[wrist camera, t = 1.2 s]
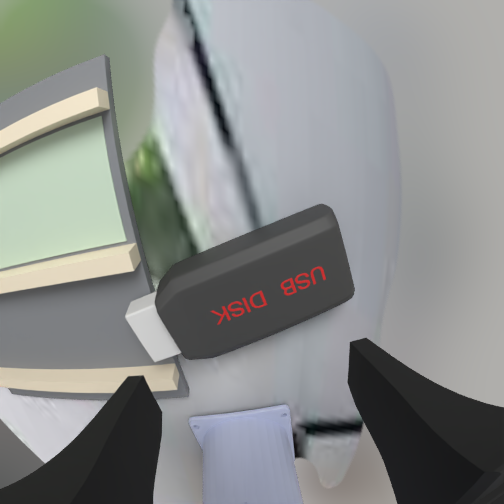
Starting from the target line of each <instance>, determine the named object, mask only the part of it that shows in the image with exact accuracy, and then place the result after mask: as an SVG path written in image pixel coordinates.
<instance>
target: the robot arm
mask: <svg viewBox="0 0 504 504" xmlns="http://www.w3.org/2000/svg"><path fill="white" fill-rule="evenodd" d="M348 385H349V388H350V391H351V394H352V397H353V399H354V402H355V405H356V407H357V409H358V411H359V413H360V415H361V417H362V419H363V421H364V423H365V425H366V427H367V429H368V430H369V432H370V434H371V436H372V438H373V440H374V442H375V444H376V446H377V448H378V450H379V452H380V454H381V456H382V459H383V461H384V463H385V467H386V469H387V472H388V475H389V478H390V481H391V484H392V487H393V490H394V494H395V497H396V500H397V504H504V408H503V407H498V406H494V405H490V404H486V403H483V402H480V401H477V400H474V399H471V398H468V397H465V396H463V395H460V394H457V393H455V392H453V391H451V390H449V389H447V388H444V387H442V386H440V385H438V384H436V383H434V382H433V381H431V380H429V379H427V378H425V377H424V376H422V375H420V374H419V373H417V372H415V371H414V370H412V369H410V368H409V367H407V366H406V365H404V364H403V363H401V362H400V361H398V360H397V359H395V358H394V357H392V356H391V355H390V354H388V353H387V352H385V351H384V350H383V349H381V348H380V347H378V346H377V345H376V344H374V343H373V342H371V341H370V340H369V339H367V338H364V339H360V340H356V341H352V342H350V353H349V371H348ZM189 425H190V427H191V429H192V431H193V433H194V435H195V437H196V439H197V441H198V443H199V445H200V447H201V449H202V451H203V504H303V500H302V496H301V491H300V487H299V482H298V478H297V474H296V469H295V465H294V461H295V456H294V446H293V436H292V426H291V417H290V409H289V406H288V405H285V404H284V405H278V406H272V407H266V408H260V409H254V410H247V411H240V412H233V413H225V414H216V415H206V416H194V417H190V418H189ZM161 436H162V411H161V409H160V407H159V406H158V404H157V402H156V400H155V398H154V396H153V394H152V392H151V390H150V388H149V386H148V384H147V382H146V380H145V377H144V375H139V376H128V377H127V378H126V379H125V380H124V382H123V383H122V384H121V385H120V386H119V388H118V389H117V390H116V391H115V393H114V394H113V395H112V396H111V398H110V399H109V400H108V401H107V403H106V404H105V405H104V406H103V408H102V409H101V410H100V411H99V412H98V414H97V415H96V416H95V417H94V418H93V419H92V421H91V422H90V423H89V424H88V425H87V426H86V427H85V428H84V429H83V430H82V432H81V433H80V434H79V435H78V436H77V437H76V438H75V439H74V440H73V441H72V442H71V443H70V444H69V445H68V446H67V447H65V448H64V449H63V450H62V451H61V452H60V453H59V454H57V455H56V456H55V457H54V458H52V459H51V460H50V461H48V462H47V463H46V464H45V465H43V466H42V467H40V468H39V469H37V470H36V471H34V472H33V473H31V474H30V475H28V476H26V477H24V478H23V479H21V480H19V481H17V482H15V483H13V484H11V485H9V486H7V487H4V488H2V489H0V504H153V491H154V482H155V475H156V468H157V462H158V456H159V449H160V443H161Z"/></svg>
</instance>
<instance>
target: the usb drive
mask: <svg viewBox="0 0 504 504" xmlns="http://www.w3.org/2000/svg"><path fill="white" fill-rule="evenodd" d="M354 291H355V288H354V284H353V280H352V275H351V271H350V267H349V263H348V259H347V255H346V251H345V247H344V243H343V240H342V236H341V232H340V228H339V225H338V222H337V219H336V217H335V215H334V212H333V210H332V209H331V208H330V207H328V206H327V205H324V204H319V205H316V206H314V207H311V208H309V209H306V210H304V211H301V212H299V213H296V214H294V215H291V216H289V217H286V218H284V219H281V220H279V221H276V222H274V223H271V224H269V225H266V226H264V227H262V228H259V229H257V230H254V231H252V232H249V233H247V234H245V235H242V236H240V237H237V238H235V239H232V240H230V241H228V242H225V243H223V244H220V245H218V246H216V247H213V248H211V249H208V250H206V251H204V252H201V253H199V254H196V255H194V256H192V257H189V258H187V259H185V260H182V261H180V262H178V263H176V264H174V265H173V266H172V267H171V268H170V269H169V270H168V272H167V273H166V274H165V275H164V277H163V278H162V279H161V281H160V282H159V286H158V289H157V291H156V292H153V293H151V294H148V295H146V296H144V297H141V298H139V299H136V300H134V301H132V302H131V303H130V305H129V307H128V310H127V312H126V315H125V318H126V320H127V321H128V323H129V325H130V326H131V328H132V329H133V331H134V332H135V334H136V335H137V337H138V339H139V340H140V342H141V343H142V345H143V346H144V348H145V349H146V350H147V352H148V353H149V355H150V356H151V358H152V359H153V361H154V362H158V361H161V360H163V359H166V358H169V357H172V356H175V355H178V354H181V353H182V354H183V356H184V357H185V358H186V359H190V360H192V359H204V358H213V357H217V356H219V355H222V354H225V353H228V352H230V351H233V350H235V349H238V348H241V347H243V346H246V345H248V344H251V343H253V342H256V341H258V340H261V339H263V338H266V337H268V336H271V335H273V334H275V333H278V332H280V331H283V330H285V329H287V328H290V327H292V326H294V325H297V324H299V323H301V322H303V321H306V320H308V319H310V318H312V317H315V316H317V315H319V314H321V313H323V312H326V311H328V310H330V309H332V308H334V307H336V306H338V305H340V304H342V303H344V302H346V301H348V300H349V299H351V298H352V297H353V295H354Z"/></svg>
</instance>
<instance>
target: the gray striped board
mask: <svg viewBox="0 0 504 504" xmlns="http://www.w3.org/2000/svg"><path fill="white" fill-rule="evenodd" d="M153 292H155V290H154V286H153V283H152V280H151V276H150V273H149V269H148V266H147V262H146V258H145V255H144V251H143V247H142V243H141V239H140V236H139V232H138V228H137V223H136V219H135V215H134V211H133V206H132V202H131V197H130V193H129V188H128V183H127V178H126V173H125V168H124V163H123V157H122V152H121V146H120V140H119V134H118V127H117V121H116V114H115V106H114V99H113V90H112V81H111V72H110V60H109V57H107V56H105V55H101V56H99V57H96V58H93V59H91V60H88V61H85V62H83V63H80V64H78V65H75V66H73V67H71V68H68V69H66V70H64V71H61V72H59V73H57V74H54V75H52V76H50V77H49V78H46V79H44V80H42V81H40V82H38V83H36V84H34V85H32V86H30V87H28V88H26V89H24V90H22V91H21V92H19V93H17V94H15V95H13V96H12V97H10V98H8V99H7V100H5V101H3V102H1V103H0V387H6V388H8V389H9V390H10V392H11V393H12V394H17V395H25V396H34V397H46V398H59V399H79V400H109V399H110V398H111V396H112V395H113V394H114V393H115V391H116V390H117V389H118V388H119V386H120V385H121V384H122V383H123V382H124V380H125V379H126V378H127V377H128V376H139V375H144V377H145V380H146V382H147V384H148V386H149V388H150V390H151V392H152V394H153V396H154V398H155V399H162V398H177V397H188V396H189V387H188V385H187V382H186V380H185V377H184V374H183V372H182V369H181V367H180V364H179V361H178V358H177V356H176V355H175V356H172V357H169V358H166V359H163V360H161V361H158V362H154V361H153V359H152V358H151V356H150V355H149V353H148V352H147V350H146V349H145V348H144V346H143V345H142V343H141V342H140V340H139V339H138V337H137V335H136V334H135V332H134V331H133V329H132V328H131V326H130V325H129V323H128V321H127V320H126V318H125V315H126V312H127V310H128V307H129V305H130V303H131V302H132V301H134V300H136V299H139V298H141V297H144V296H146V295H148V294H151V293H153Z"/></svg>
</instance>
